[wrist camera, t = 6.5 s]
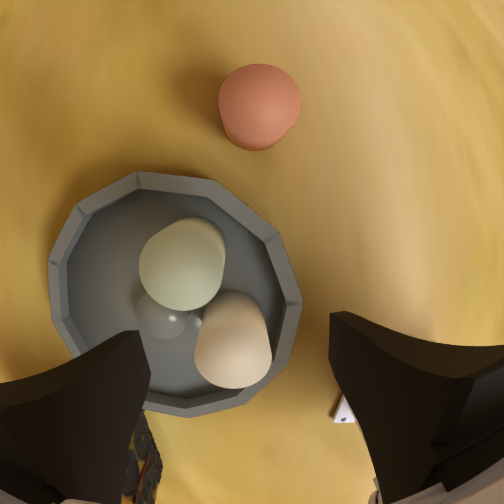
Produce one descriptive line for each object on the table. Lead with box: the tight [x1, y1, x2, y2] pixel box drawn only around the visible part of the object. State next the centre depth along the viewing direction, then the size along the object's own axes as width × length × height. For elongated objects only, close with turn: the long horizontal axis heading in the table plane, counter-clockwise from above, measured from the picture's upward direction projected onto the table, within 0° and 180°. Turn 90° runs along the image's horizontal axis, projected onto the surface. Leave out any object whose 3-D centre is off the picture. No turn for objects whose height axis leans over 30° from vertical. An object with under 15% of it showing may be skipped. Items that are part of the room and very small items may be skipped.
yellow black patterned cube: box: [121, 409, 163, 504], centre depth 18 cm, size 10×10×10 cm
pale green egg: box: [139, 216, 227, 311], centre depth 16 cm, size 4×4×5 cm
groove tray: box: [48, 171, 303, 418], centre depth 19 cm, size 18×18×2 cm
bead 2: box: [194, 291, 272, 389], centre depth 17 cm, size 4×4×5 cm
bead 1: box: [218, 64, 301, 151], centre depth 15 cm, size 4×4×5 cm
